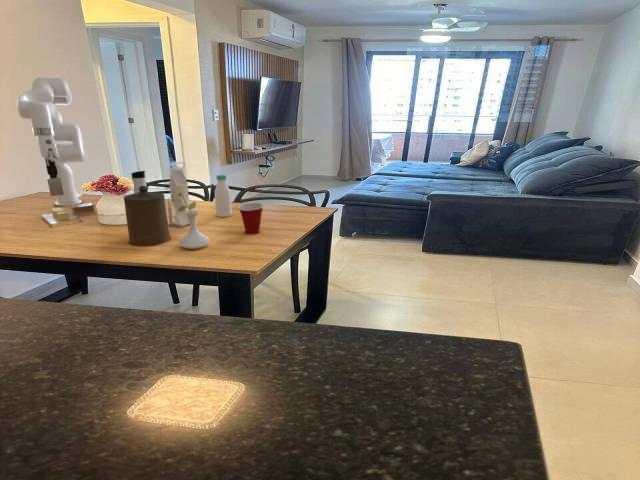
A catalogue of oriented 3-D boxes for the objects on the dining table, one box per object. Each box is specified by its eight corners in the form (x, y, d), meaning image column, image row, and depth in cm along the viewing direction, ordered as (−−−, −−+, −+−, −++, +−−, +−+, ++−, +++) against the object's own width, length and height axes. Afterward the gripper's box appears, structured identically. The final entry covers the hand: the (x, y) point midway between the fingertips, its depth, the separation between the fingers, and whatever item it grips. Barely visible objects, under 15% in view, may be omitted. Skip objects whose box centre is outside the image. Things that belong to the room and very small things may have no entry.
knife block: (72, 215, 186) (70, 205, 184) (92, 212, 192) (90, 203, 190) (75, 217, 183) (73, 207, 181) (95, 214, 189) (93, 204, 187)
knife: (51, 196, 171) (44, 162, 166) (50, 195, 172) (43, 162, 167) (64, 194, 174) (57, 161, 170) (63, 194, 176) (56, 161, 171)
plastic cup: (237, 229, 169) (235, 203, 165) (261, 227, 173) (260, 201, 169) (241, 237, 160) (240, 209, 156) (267, 234, 163) (266, 207, 159)
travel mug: (146, 210, 197) (141, 172, 191) (134, 210, 197) (128, 171, 191) (152, 207, 203) (147, 170, 196) (139, 207, 203) (134, 169, 197)
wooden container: (161, 232, 164) (155, 181, 157) (175, 240, 154) (169, 186, 147) (125, 238, 155) (116, 185, 148) (136, 248, 144) (128, 191, 137)
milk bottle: (233, 216, 189) (230, 176, 182) (217, 218, 186) (214, 177, 180) (230, 212, 196) (228, 174, 189) (215, 214, 193) (212, 174, 186)
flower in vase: (200, 239, 156) (194, 178, 147) (216, 246, 149) (211, 182, 140) (170, 247, 146) (162, 183, 138) (185, 255, 139) (178, 187, 131)
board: (41, 218, 181) (41, 215, 181) (70, 213, 189) (70, 210, 189) (51, 227, 168) (50, 224, 168) (82, 222, 176) (81, 219, 176)
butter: (52, 214, 181) (51, 208, 180) (62, 213, 184) (61, 207, 183) (56, 217, 177) (55, 211, 176) (66, 216, 179) (65, 210, 178)
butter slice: (57, 219, 175) (56, 212, 174) (68, 217, 177) (66, 211, 176) (59, 220, 173) (57, 214, 172) (69, 218, 176) (68, 212, 175)
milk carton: (183, 221, 180) (177, 161, 171) (195, 223, 177) (189, 162, 167) (168, 225, 174) (161, 163, 164) (180, 228, 170) (173, 164, 161)
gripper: (58, 132, 162) (67, 176, 168) (50, 131, 172) (58, 171, 178) (37, 133, 157) (47, 178, 162) (29, 131, 167) (39, 173, 173)
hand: (52, 174), depth 170 cm, fingers closed on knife, 1 cm apart
